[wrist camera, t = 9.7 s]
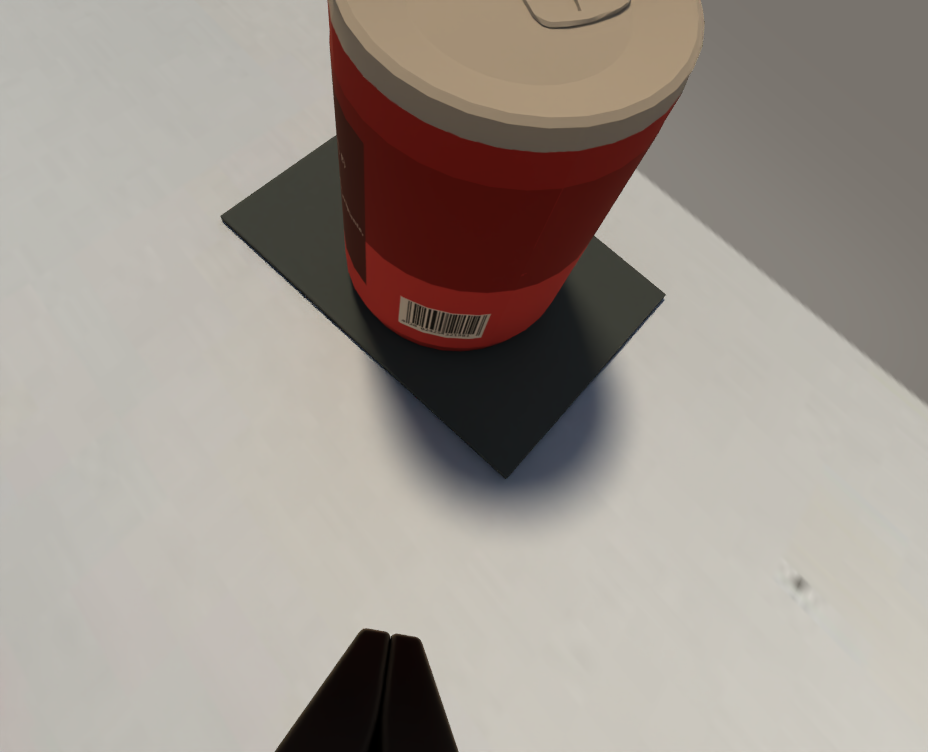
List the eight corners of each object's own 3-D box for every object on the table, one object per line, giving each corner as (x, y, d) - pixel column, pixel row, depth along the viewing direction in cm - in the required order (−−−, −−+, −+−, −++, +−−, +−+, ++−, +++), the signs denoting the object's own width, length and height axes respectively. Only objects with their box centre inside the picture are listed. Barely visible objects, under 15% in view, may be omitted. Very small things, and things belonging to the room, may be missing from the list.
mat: (505, 479, 20) (506, 478, 19) (221, 219, 21) (220, 215, 21) (663, 296, 23) (666, 294, 23) (408, 87, 25) (408, 83, 25)
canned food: (593, 302, 22) (780, 55, 12) (413, 398, 20) (459, 188, 10) (486, 155, 24) (573, -167, 14) (309, 227, 22) (256, -102, 11)
